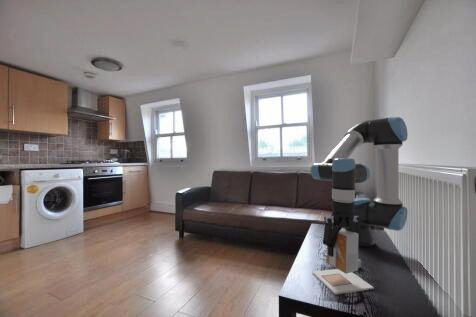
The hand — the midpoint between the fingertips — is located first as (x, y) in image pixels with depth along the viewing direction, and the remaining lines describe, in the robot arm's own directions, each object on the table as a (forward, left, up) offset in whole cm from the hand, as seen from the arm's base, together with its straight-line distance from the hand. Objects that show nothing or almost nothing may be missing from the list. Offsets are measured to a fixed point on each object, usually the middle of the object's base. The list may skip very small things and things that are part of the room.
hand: (342, 263), depth 76 cm
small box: (0, 0, -1) cm, 1 cm away
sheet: (0, 0, -6) cm, 6 cm away
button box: (-11, -10, -6) cm, 16 cm away
